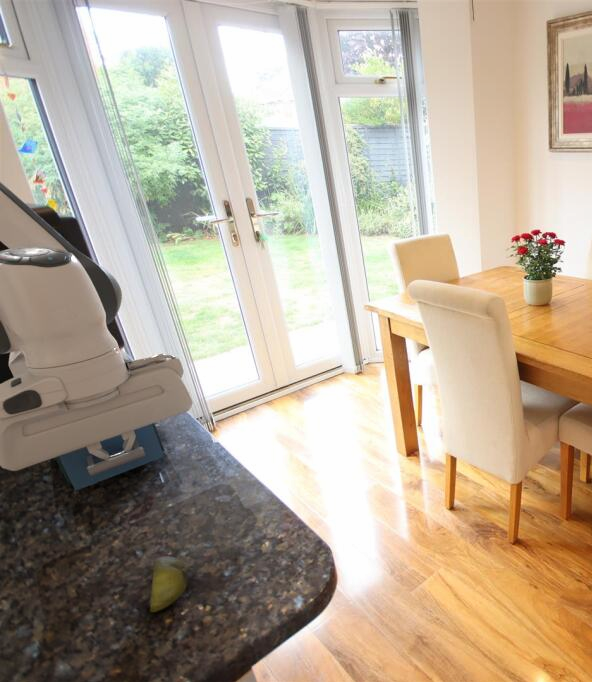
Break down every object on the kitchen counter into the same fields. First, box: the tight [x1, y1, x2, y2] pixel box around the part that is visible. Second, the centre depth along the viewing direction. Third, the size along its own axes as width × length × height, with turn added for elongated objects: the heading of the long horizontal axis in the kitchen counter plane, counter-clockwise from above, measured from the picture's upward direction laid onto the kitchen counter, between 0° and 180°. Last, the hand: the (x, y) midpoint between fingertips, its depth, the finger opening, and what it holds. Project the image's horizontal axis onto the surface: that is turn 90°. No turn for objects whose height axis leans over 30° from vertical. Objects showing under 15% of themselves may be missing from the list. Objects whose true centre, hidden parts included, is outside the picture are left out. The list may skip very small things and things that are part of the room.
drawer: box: [59, 424, 165, 492], centre depth 68 cm, size 15×10×7 cm
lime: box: [149, 556, 188, 614], centre depth 48 cm, size 4×5×5 cm
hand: (120, 462), depth 65 cm, fingers closed, pressing on drawer
